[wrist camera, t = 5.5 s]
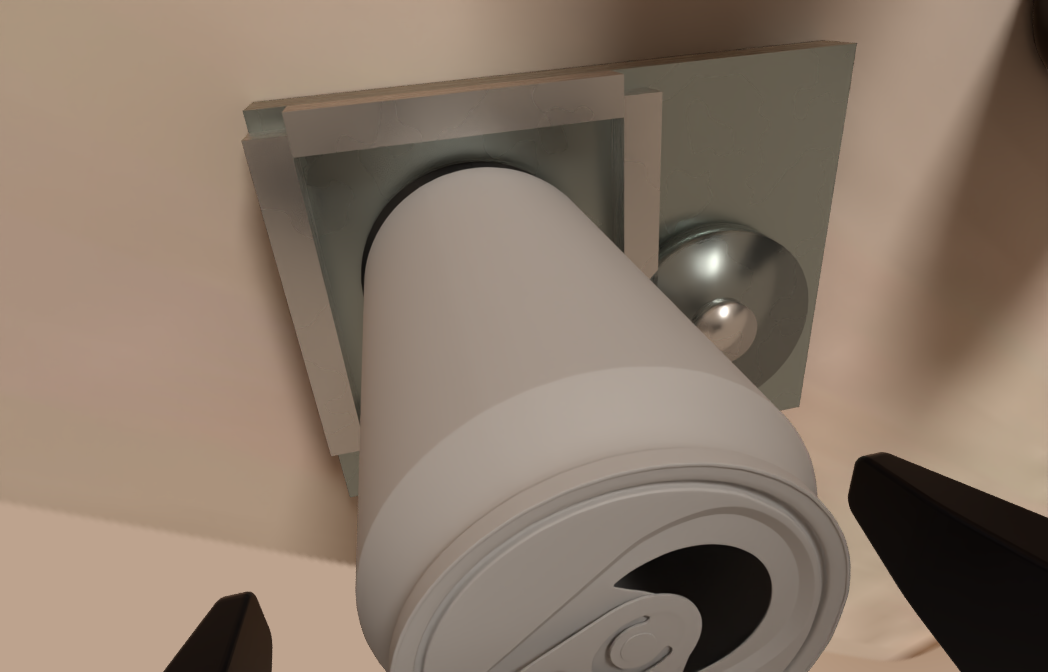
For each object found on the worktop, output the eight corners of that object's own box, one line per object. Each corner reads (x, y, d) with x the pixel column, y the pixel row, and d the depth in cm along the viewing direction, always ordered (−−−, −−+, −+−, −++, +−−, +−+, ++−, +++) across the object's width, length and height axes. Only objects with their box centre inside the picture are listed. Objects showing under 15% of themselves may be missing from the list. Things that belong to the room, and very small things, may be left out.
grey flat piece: (822, 40, 18) (897, 46, 16) (776, 385, 24) (824, 430, 22) (253, 102, 16) (230, 121, 14) (351, 467, 22) (348, 530, 19)
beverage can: (624, 302, 19) (926, 659, 9) (443, 410, 20) (528, 873, 9) (526, 111, 16) (818, 315, 6) (312, 243, 16) (213, 666, 6)
